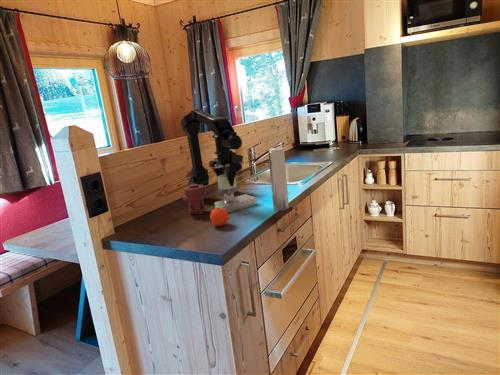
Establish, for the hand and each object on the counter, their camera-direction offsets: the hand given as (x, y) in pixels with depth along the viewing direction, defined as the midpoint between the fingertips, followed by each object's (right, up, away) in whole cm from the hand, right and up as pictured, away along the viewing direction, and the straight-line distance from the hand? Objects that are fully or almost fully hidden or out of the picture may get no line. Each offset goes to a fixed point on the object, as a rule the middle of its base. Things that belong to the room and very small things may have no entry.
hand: (227, 184), depth 154 cm
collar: (0, -1, 0) cm, 1 cm away
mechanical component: (-13, -12, +1) cm, 18 cm away
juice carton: (-2, -4, +30) cm, 30 cm away
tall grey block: (+23, -10, -5) cm, 25 cm away
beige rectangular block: (+4, -9, +4) cm, 11 cm away
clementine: (-1, -16, -17) cm, 23 cm away
